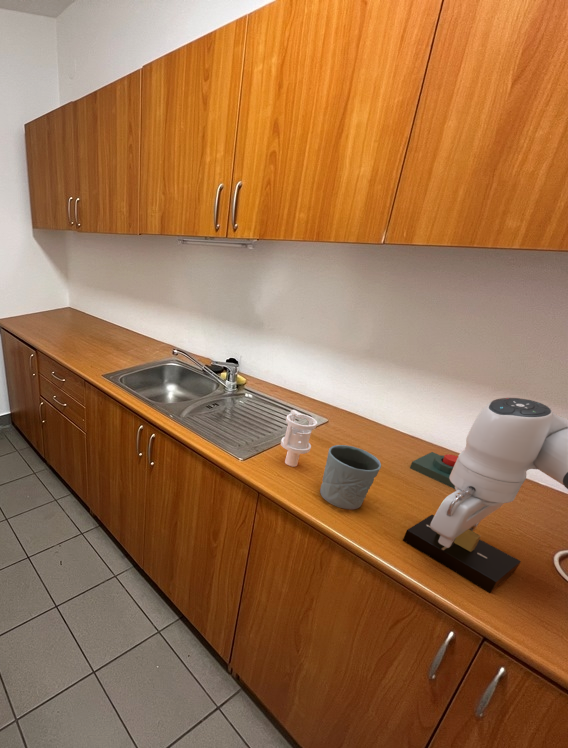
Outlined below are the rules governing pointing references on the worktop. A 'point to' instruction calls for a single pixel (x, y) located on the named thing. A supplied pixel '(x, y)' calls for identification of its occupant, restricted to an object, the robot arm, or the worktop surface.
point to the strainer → (297, 437)
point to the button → (450, 459)
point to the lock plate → (464, 557)
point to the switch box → (433, 468)
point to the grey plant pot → (348, 476)
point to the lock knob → (467, 540)
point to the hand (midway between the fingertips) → (456, 536)
